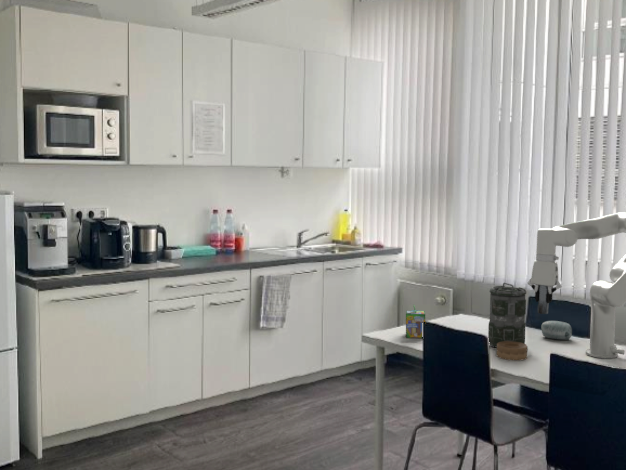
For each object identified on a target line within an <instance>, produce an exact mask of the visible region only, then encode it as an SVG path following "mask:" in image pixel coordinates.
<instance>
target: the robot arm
mask: <svg viewBox="0 0 626 470" xmlns="http://www.w3.org/2000/svg"><path fill="white" fill-rule="evenodd" d="M622 233H624V234H625V233H626V211H625V212H624V211H620V212H615V213H611V214H607V215H602V216H600V217H596V218H595V217H594V218H591V219H585V220H581V221H575V222H569V223H565V224H560V225H557V226H554V227H552V228H549V227H548V228H547V227H545V228H544V227H542V228H538V230H537V234H536V250H535V251H536V252H535V253H536V254H535V256H536V257H535V260H534V261H533V266H532V271H531V277H530V279H528V282H527V285H528V286H529V287H530V288H531V289H532V290H533V291H534V299H535V303H537V302H538V300H539V285H545V286H548V291H549V292H548V294H547V303H548V304H550V303H551V302H552V301H553V295H554V293H555V292H556V291H558V290H559V289H561V288H562V287H563V286H562V284H561V283H560V281H559V266H558V262H557V261H559V257H560V256H557V255H556V249H557V247H564V248H569V247H573V246H574V245H576V244H577V242H578V240H598V239H602V238H606V237H609V236H613V235H617V234H622ZM609 279H610V281H611V282H610V281H608V280H596V281H595V282H593V283H592V285H591V286H590V288H589V299H590V332H589V348H588V349H586V350H585V354H586V355H587V356H590V357H593V358H598V359H615V358H618V357H619V355H618V354H620V355H625V353H626V352H625V349H623V348H618V347H617V344H615V335H616V330H615V329H616V308H620V307H622V306H624V305H626V254H624V255H623V257H622V258H620V260H619V261H618V262H617V263H616V264H615V265H614V266H613V267H612V268H611V269H610V271H609Z"/></svg>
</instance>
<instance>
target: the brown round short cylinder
mask: <svg viewBox="0 0 626 470" xmlns="http://www.w3.org/2000/svg"><path fill="white" fill-rule="evenodd" d="M496 357H497V358H499V359H502V360H506V361H507V360H508V361H523V360H526V359H527V358H528V345H527V343H525V344H524V343H520V342H514V341H504V342H499V343H497V347H496Z"/></svg>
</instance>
